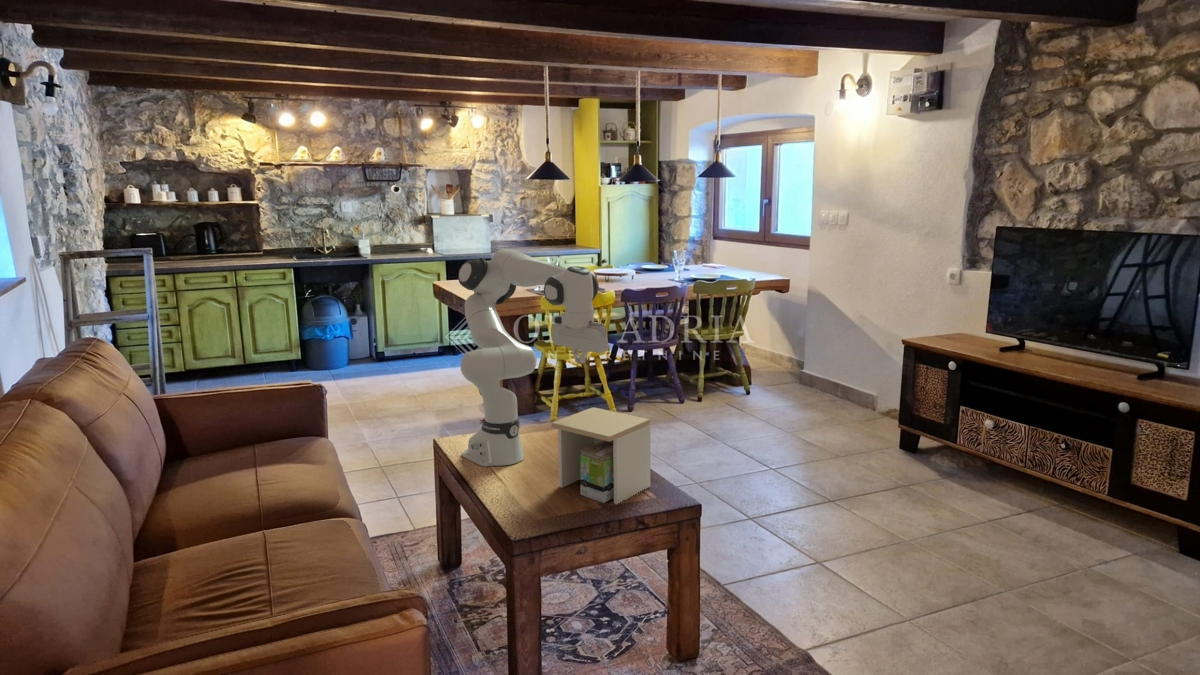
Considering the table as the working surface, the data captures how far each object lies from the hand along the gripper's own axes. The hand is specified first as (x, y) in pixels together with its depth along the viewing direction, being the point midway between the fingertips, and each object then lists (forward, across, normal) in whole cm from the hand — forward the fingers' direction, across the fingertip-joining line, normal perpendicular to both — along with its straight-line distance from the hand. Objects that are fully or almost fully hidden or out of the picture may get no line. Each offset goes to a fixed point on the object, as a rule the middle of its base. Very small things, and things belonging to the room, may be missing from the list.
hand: (580, 362), depth 238 cm
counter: (+36, -14, +7) cm, 39 cm away
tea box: (+36, -17, +8) cm, 41 cm away
